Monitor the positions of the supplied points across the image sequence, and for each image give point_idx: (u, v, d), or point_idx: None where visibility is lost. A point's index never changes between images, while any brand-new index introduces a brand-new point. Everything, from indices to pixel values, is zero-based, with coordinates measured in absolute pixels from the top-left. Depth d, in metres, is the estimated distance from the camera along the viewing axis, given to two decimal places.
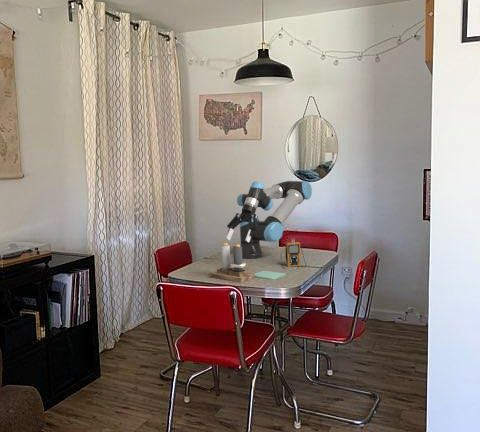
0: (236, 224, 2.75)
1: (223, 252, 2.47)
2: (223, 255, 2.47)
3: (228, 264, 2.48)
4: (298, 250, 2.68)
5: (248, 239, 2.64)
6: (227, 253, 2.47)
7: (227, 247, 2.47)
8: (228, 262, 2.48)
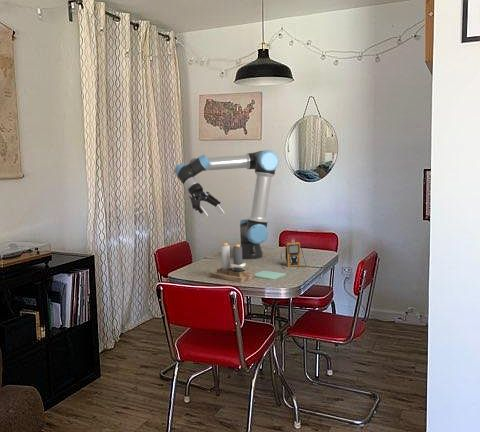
0: (211, 202, 2.69)
1: (223, 252, 2.47)
2: (223, 255, 2.47)
3: (228, 264, 2.48)
4: (298, 250, 2.68)
5: (204, 215, 2.56)
6: (227, 253, 2.47)
7: (227, 247, 2.47)
8: (228, 262, 2.48)
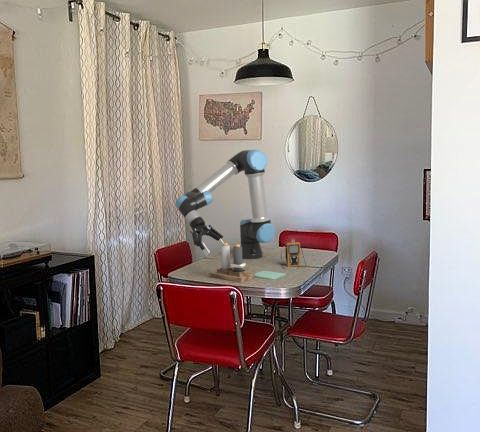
0: (213, 236, 2.58)
1: (223, 252, 2.47)
2: (223, 255, 2.47)
3: (228, 264, 2.48)
4: (298, 250, 2.68)
5: (206, 252, 2.46)
6: (227, 253, 2.47)
7: (227, 247, 2.47)
8: (228, 262, 2.48)
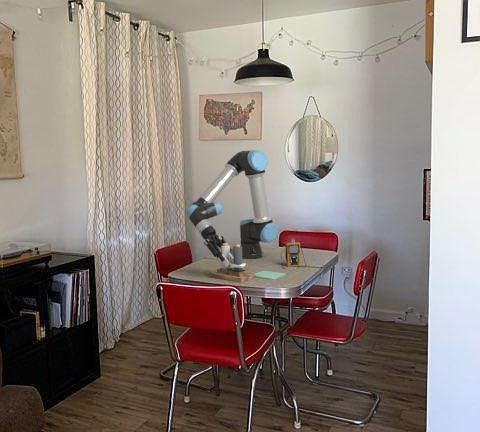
0: None
1: (223, 252, 2.47)
2: None
3: None
4: (298, 250, 2.68)
5: (226, 263, 2.45)
6: (227, 253, 2.47)
7: (227, 247, 2.47)
8: None
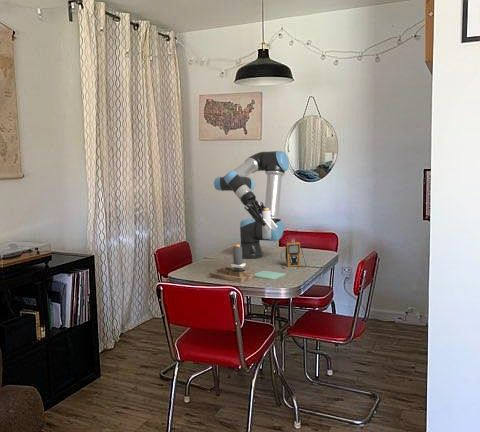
0: None
1: (264, 217, 2.44)
2: None
3: None
4: (298, 250, 2.68)
5: (268, 228, 2.43)
6: (268, 218, 2.44)
7: (268, 212, 2.44)
8: None
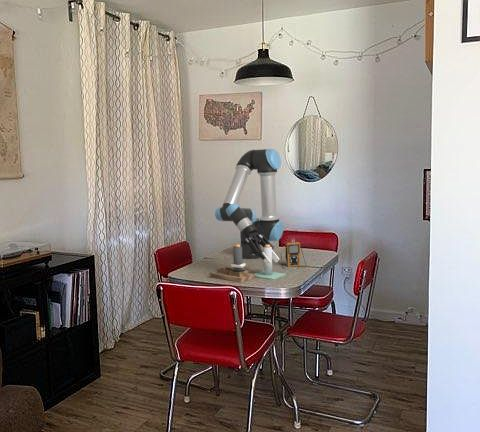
0: (264, 245, 2.53)
1: (266, 253, 2.47)
2: None
3: (270, 265, 2.48)
4: (298, 250, 2.68)
5: (267, 262, 2.44)
6: (270, 254, 2.47)
7: (270, 248, 2.47)
8: (270, 263, 2.48)
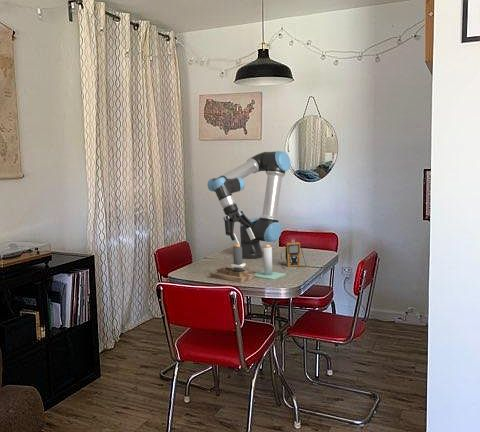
0: (243, 223, 2.62)
1: (265, 254, 2.47)
2: (265, 257, 2.47)
3: (270, 266, 2.48)
4: (298, 250, 2.68)
5: (236, 243, 2.52)
6: (269, 255, 2.47)
7: (270, 249, 2.46)
8: (270, 264, 2.48)
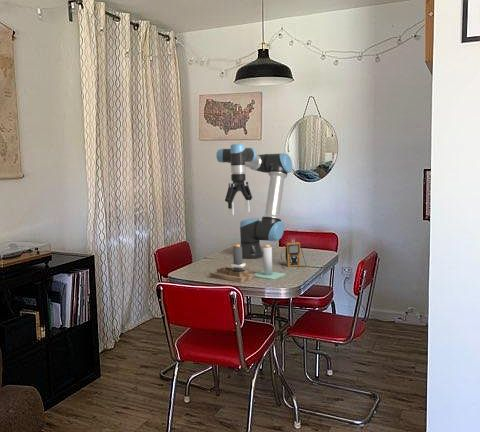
0: (244, 194, 2.64)
1: (265, 254, 2.47)
2: (265, 257, 2.47)
3: (270, 266, 2.48)
4: (298, 250, 2.68)
5: (230, 212, 2.55)
6: (269, 255, 2.47)
7: (269, 249, 2.46)
8: (270, 264, 2.48)
